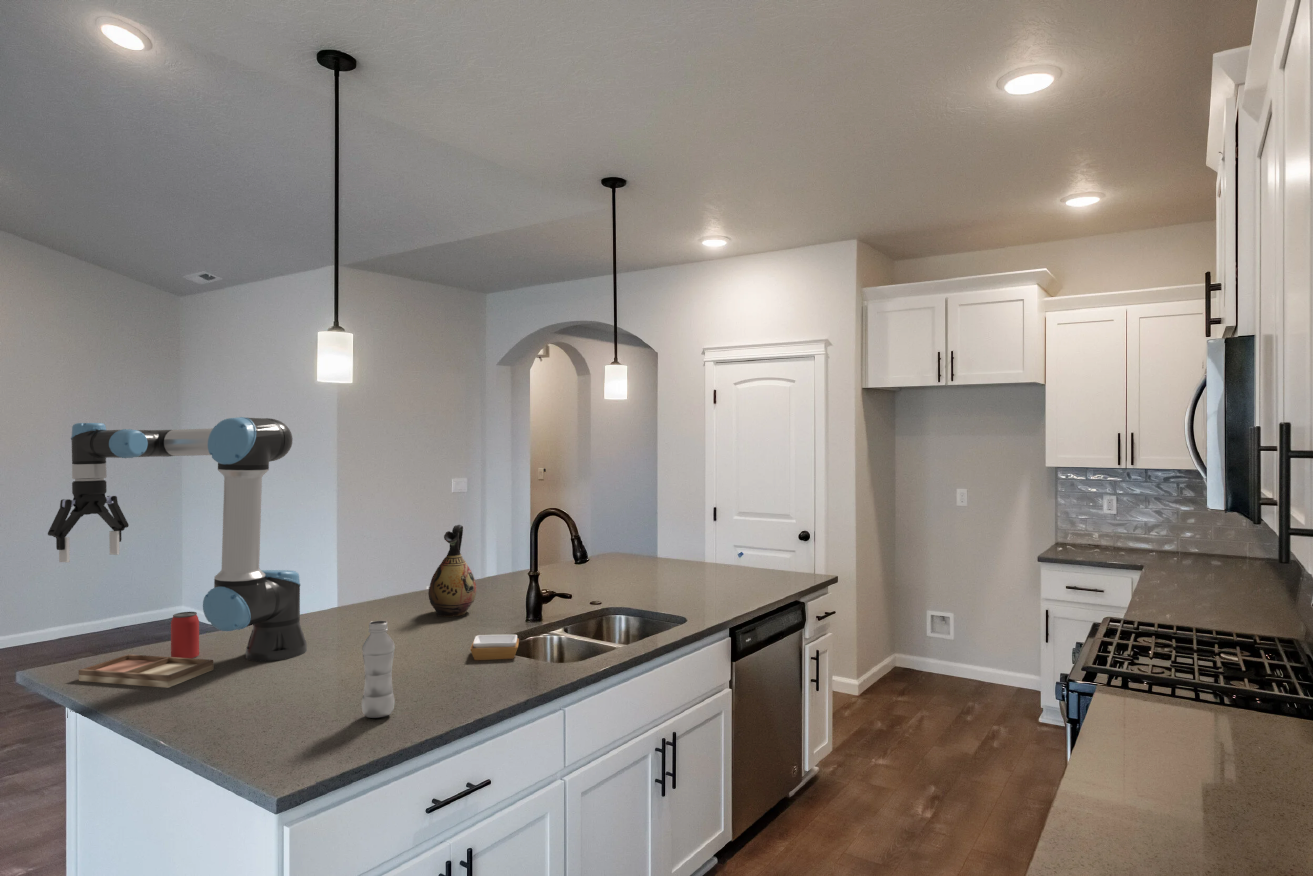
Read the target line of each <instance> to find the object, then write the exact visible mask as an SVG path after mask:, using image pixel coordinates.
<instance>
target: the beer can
mask: <svg viewBox="0 0 1313 876" xmlns="http://www.w3.org/2000/svg"><path fill="white" fill-rule="evenodd" d="M197 656H198V657H199V656H200V619H199V616H198V614H197V612H196V611H184V612H183V611H182V612H177V613H174V614H172V618H171V621H170V657H178V658H193V659H197Z"/></svg>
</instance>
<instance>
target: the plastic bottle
mask: <svg viewBox="0 0 1313 876" xmlns="http://www.w3.org/2000/svg"><path fill="white" fill-rule="evenodd" d="M368 623H369V624H368V633H369V635H368V637H367V638H366V639H365V641H364V643H363V645H362V649H361V650H362V657H363V658H362V659H363V665H364V686H363V687H364V688H363V695H362V699H361V711H362V714H363V715H364V716H365V717H366V718H369V719H370V718H372V719H376V718H384V717H387V716H389V715H391V714H392V713H393V711H394V708H395V704H396V703H395V702H396V701H395V694H394V692H393V691H394V689H393V679H392V678H393V676H392V675H393V672H392V671H393V662H394V656H395V651H396V650H395V649H396V645H395V642H394V640H393V639H392V638H391V636H390V634H388V631H389V628H388V621H387V620H374V621H370V622H368Z"/></svg>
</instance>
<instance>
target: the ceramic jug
mask: <svg viewBox="0 0 1313 876" xmlns="http://www.w3.org/2000/svg"><path fill="white" fill-rule="evenodd" d="M444 533H445V534H444V535H443V539H444V541H445V542H447V543H448V544H449V550H448V551H447V554H446V556H445V557H444V558H443V560H442V561H441V563H440V564H439V565H438V567H437V568H436V569H435V571H434V573H433V575H432V577H431V579H430V584H429V587H428V592H427V594H428V600H429V604H430V605H431V607H432V608H433V609H434V611H435V612H436V615H437V616H438V617H444V618H445V617H446V618H447V617H449V618H451V617H459V616H463V615H465V614H466V613H467V611H468V610H469V609H470V607H471V606H472V605H473V603H474V602H475V600H476V599H475V598H476V596H477V583H476V579H475V577H474V574H473V572H472V569H470V566H469V565H468V563H467V562H466V560H465V558H464V557H463V556H462V554H461V547H462V541H463V540H462V539H463V535H464V534H463V533H464V526H463V525H461V524H457V525H454V526H453V527H452V531H450V530H449V531H446V532H444Z"/></svg>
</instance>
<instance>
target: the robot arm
mask: <svg viewBox="0 0 1313 876" xmlns="http://www.w3.org/2000/svg"><path fill="white" fill-rule="evenodd" d="M70 440H71V478H72V479H73V480H74V481H72V482H71V492H72V493H71V494H72V496H73V499H67V498H66V499H65V498H63V499H62V498H61V500H60V501H59V502H60V503H59V509H58V511H57V513H56V515H55V517H54V519H53V521H52V523H51V525H50V527H49V529H48V531H47V536H50V537H53V538H55V540H56V541H55V542H56V543H55V544H56V550H57V551H58V555H59V557H58V559H59V560H58V561H59V563H70V560H71V559H70V555H71V554H70V553H71V552H70V551H71V550H70V549H71V548H70V545H71V544H70V536H67V535H68V534H69V533H70V532H71V531H72V529H73V528H74V526H75V525H76V524H77V523H78V521H79V520H80V519H81V518H82V517H84V516H85V515H86V516H88V515H92V514H94V515H98V516H99V517H100V518H101V519H102V520H103V521H104V522H105V523H106V525H108V526H109V527H110V528H111V530H110V531H109V534H108V535H109V536H108V537H109V555H115V556H117V555H118V556H119V555H120V542H122V531H124V530H125V529H126V528H128V527H129V526H130V524H129V523H128V520H127V519H126V516H125V515H124V513H123V510H122V509H121V507H120V505H119V501H118V496H117V495H107V496H106V493H107V481H106V478H107V475H108V474H107V458H108V459H109V458H112V459H115V458H116V459H119V458H121V459H133V458H147V457H153V458H154V457H162V458H163V457H165V458H167V457H185V456H186V457H189V456H191V457H193V456H211V458H212V460H214V461H215V462H216V463H217V471H218V472H220V474H221V475H223V478H224V479H223V506H222V507H223V508H222V509H223V511H222V539H221V541H222V543H221V545H222V546H221V547H222V548H221V569H220V571H219V572H218V573H216V574H215V576H214V579H213V580H214V582H213V588H211V589H210V590H209V591H208V592H207V593H206V594H205V596H203V600H202V610H203V611H202V612H203V614H204V617H205V619H206V621H208V623H210V625H211V626H212V627H214V628H215V629H217V630H218V631H222V632H232V631H239V630H243V629H245V628H247V627H250V626H252V630H251V633H250V636H249V639H248V642H247V645H246V648H245V659H246V660H248V661H251V662H274V661H275V662H276V661H282V660H289V659H292V658H297V657H300V656H302V655H304V654H306V653H307V651H308V642H307V640H306V637H305V635H304V632H303V628H302V626H301V615H300V614H301V599H300V598H301V583H300V582H301V581H300V580H301V579H300V574H299V572H297V571H296V570H289V569H266V570H265V569H263V570H262V569H260V555H261V554H260V553H261V552H260V550H261V521H262V519H261V517H262V515H261V514H262V491H263V490H262V489H263V488H262V487H263V485H262V484H263V477H264V475H266V473H268V471H269V470H270V462H274V461H275V462H276V461H278V460H280V459H282V458H284V457H285V456H286V455H287V454H288V453H289V451H291V448H292V445H293V435H292V432H291V429H290V428H289V427H288V426H287V425H286V424H285V423H284V422H283V421H280V420H277V419H275V418H268V417H267V418H262V417H244V416H239V417H237V416H236V417H228V418H225V419H222V420H220V421H218V423H217V424H215V426H213V427H211V428H210V427H207V428H187V429H185V428H183V429H130V428H128V429H126V428H123V429H108V430H107V427H106V424H105V423H103V422H76V423H74V424H73V425H72V426H71V437H70ZM105 504H106V505H107V507H108V508H107V507H106V506H105ZM72 507H73V509H72ZM71 509H72V510H71ZM109 511H110V512H109ZM69 514H70V515H69Z"/></svg>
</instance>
